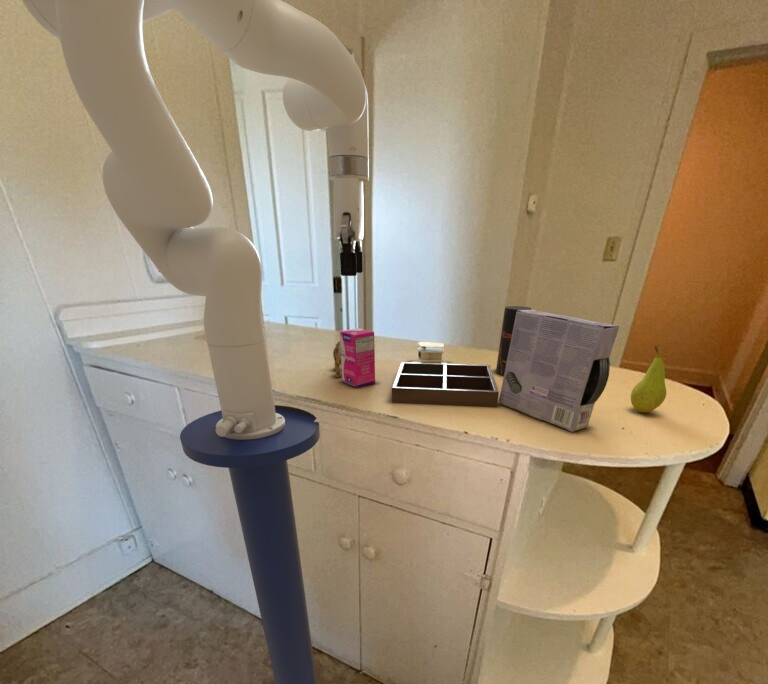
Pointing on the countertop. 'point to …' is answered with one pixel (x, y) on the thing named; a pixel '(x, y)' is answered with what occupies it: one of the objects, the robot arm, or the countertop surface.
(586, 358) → the cake pan box
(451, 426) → the countertop surface
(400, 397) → the grid
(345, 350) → the supplement box
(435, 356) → the stacked layers on plate
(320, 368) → the countertop surface
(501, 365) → the deodorant
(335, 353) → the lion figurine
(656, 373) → the fruit
